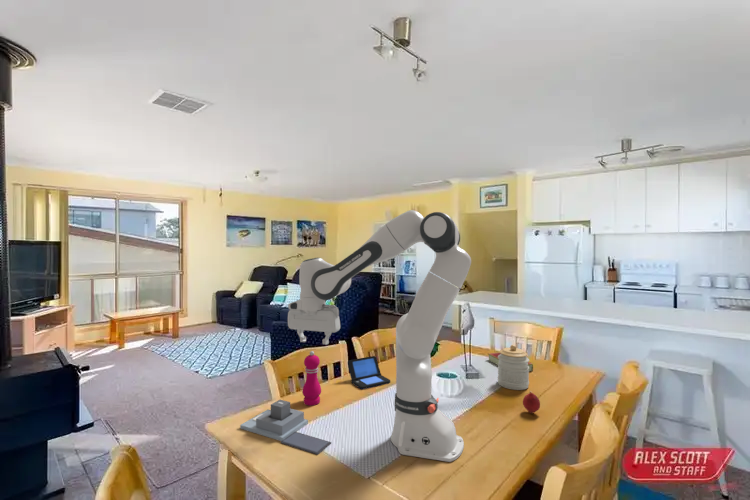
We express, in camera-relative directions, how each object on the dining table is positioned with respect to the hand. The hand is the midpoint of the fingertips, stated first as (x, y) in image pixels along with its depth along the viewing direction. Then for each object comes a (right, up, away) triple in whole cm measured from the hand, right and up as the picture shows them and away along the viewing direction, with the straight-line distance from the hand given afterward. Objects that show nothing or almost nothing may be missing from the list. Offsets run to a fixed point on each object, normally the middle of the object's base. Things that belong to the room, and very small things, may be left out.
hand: (314, 343), depth 130 cm
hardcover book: (+90, -27, +59) cm, 111 cm away
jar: (+82, -27, +32) cm, 92 cm away
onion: (+79, -27, +5) cm, 83 cm away
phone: (0, -28, -16) cm, 32 cm away
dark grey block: (-10, -26, -7) cm, 28 cm away
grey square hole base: (-13, -27, -6) cm, 30 cm away
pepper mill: (-3, -27, +13) cm, 30 cm away
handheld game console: (+19, -27, +35) cm, 48 cm away
